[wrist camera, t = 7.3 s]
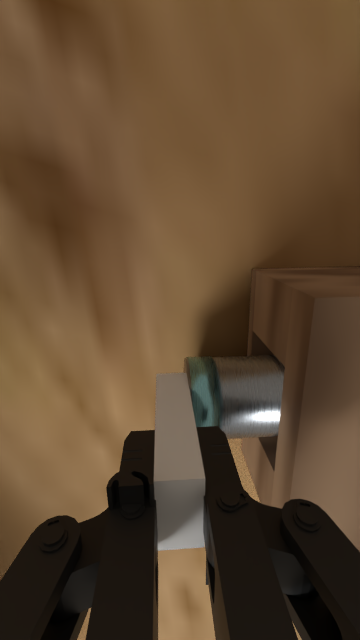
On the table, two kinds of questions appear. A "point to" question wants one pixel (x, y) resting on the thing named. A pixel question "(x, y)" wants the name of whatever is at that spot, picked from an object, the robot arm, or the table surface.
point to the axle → (237, 393)
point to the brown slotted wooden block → (310, 389)
